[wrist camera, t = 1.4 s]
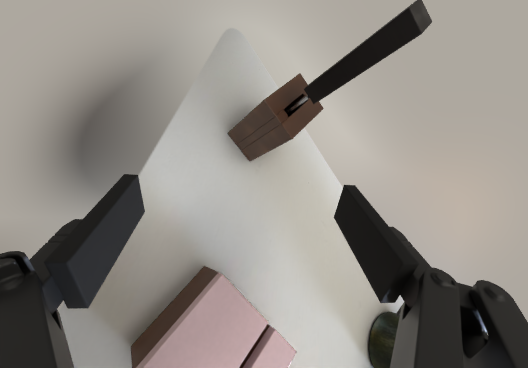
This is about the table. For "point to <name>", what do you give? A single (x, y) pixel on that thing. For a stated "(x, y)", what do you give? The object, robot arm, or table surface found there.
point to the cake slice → (269, 351)
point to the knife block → (274, 120)
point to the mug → (383, 339)
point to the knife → (369, 52)
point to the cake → (201, 328)
